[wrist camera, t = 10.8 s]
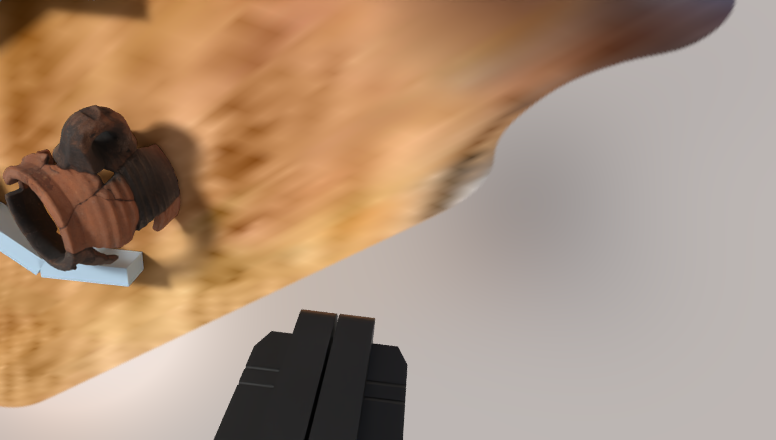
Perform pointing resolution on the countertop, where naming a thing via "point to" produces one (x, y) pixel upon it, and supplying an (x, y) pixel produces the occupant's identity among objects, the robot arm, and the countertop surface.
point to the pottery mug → (91, 191)
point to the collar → (10, 241)
